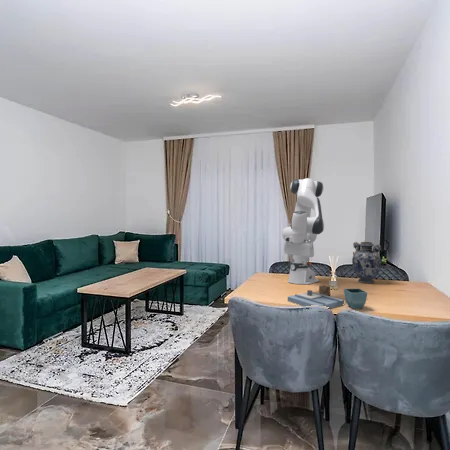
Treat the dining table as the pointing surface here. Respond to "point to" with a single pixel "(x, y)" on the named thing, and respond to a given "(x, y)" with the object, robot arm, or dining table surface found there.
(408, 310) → the dining table surface
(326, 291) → the walnut block
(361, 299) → the flower pot
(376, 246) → the decorative vase
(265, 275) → the dining table surface
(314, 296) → the lid
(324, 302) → the puzzle board
